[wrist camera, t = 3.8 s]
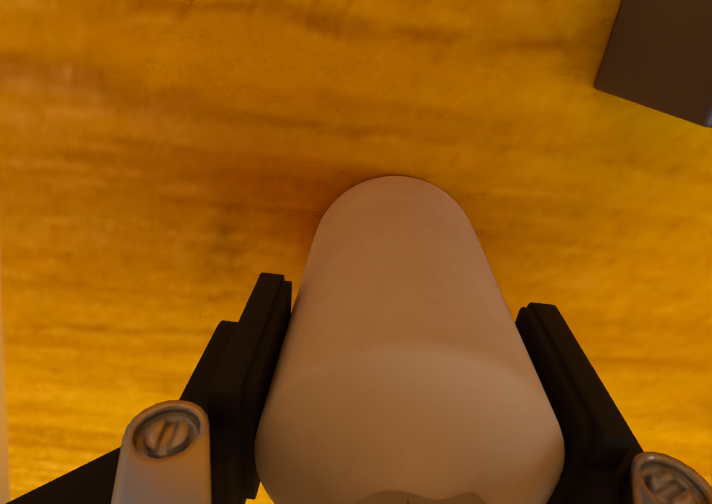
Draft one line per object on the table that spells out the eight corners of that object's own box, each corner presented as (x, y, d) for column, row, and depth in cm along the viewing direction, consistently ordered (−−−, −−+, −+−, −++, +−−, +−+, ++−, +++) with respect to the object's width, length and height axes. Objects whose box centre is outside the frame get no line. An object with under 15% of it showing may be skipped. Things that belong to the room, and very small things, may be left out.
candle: (305, 177, 14) (188, 432, 6) (478, 168, 14) (644, 427, 5) (323, 316, 17) (262, 640, 8) (469, 311, 17) (571, 647, 8)
